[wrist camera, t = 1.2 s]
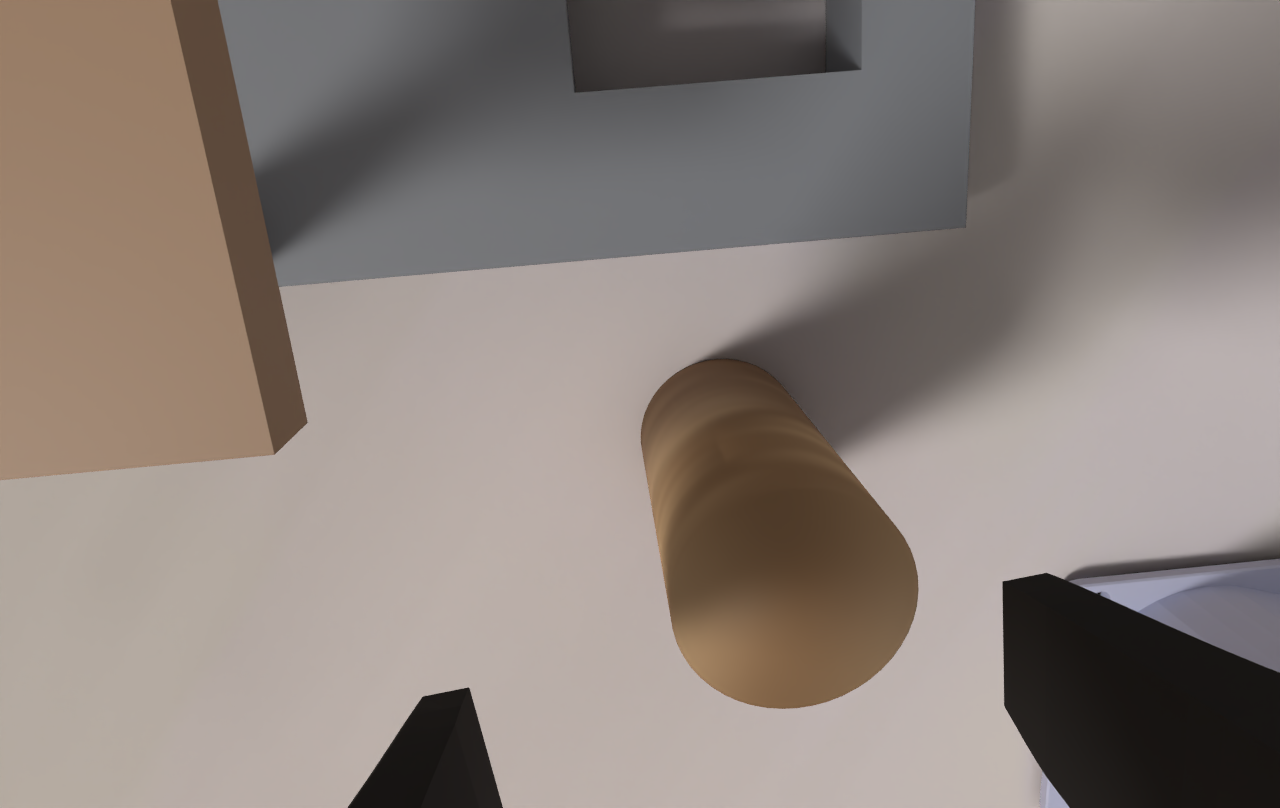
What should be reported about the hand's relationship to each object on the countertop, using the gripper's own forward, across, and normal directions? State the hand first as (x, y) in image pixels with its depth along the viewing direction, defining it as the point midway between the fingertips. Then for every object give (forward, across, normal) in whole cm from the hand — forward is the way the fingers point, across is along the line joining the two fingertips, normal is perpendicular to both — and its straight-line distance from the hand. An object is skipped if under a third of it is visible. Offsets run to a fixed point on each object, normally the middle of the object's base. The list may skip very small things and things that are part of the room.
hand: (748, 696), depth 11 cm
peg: (+10, -2, 0) cm, 10 cm away
